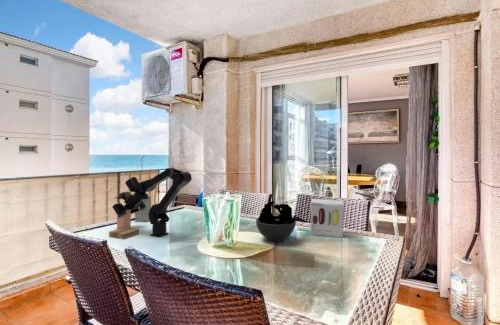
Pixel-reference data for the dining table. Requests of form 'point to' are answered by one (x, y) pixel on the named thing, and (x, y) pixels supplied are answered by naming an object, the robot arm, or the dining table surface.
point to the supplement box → (327, 217)
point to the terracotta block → (124, 220)
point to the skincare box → (143, 211)
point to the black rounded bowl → (276, 222)
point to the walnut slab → (124, 233)
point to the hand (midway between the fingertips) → (122, 216)
